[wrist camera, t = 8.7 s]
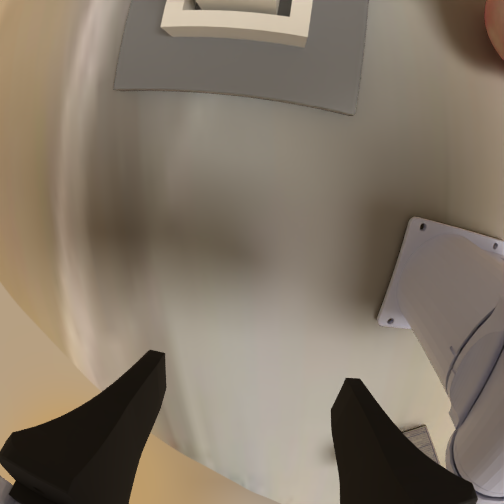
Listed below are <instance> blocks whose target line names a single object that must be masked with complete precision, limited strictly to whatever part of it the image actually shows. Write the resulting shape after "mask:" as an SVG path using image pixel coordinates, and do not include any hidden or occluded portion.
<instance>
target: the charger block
mask: <svg viewBox="0 0 504 504" xmlns="http://www.w3.org/2000/svg"><path fill="white" fill-rule="evenodd" d="M196 2H197V3H198V5H199V7H200V8H201V10H222V11H240V12H253V13H263V14H272V15H277V14H278V8H279V3H280V0H196Z"/></svg>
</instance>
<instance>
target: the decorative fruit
mask: <svg viewBox="0 0 504 504" xmlns="http://www.w3.org/2000/svg"><path fill="white" fill-rule="evenodd" d="M484 19H485V26H486V30H487V33H488V36H489V38H490V41H491V43H492V44H493V46H494V48H495V50H496V51H497V53H498V54H499V55H500V57H501V58H502V59H503V61H504V0H486V4H485V12H484Z"/></svg>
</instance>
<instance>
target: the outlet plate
mask: <svg viewBox="0 0 504 504" xmlns="http://www.w3.org/2000/svg"><path fill="white" fill-rule="evenodd" d="M368 3H369V0H280V3H279V8H278V14H277V15H272V14H263V13H253V12H240V11H222V10H201V8H200V7H199V5H198V3H197V2H196V0H132V1H131V5H130V9H129V13H128V17H127V21H126V25H125V29H124V34H123V38H122V43H121V48H120V53H119V58H118V64H117V70H116V76H115V82H114V90H119V91H180V92H199V93H212V94H223V95H233V96H242V97H251V98H258V99H266V100H272V101H279V102H285V103H291V104H297V105H302V106H307V107H312V108H317V109H322V110H327V111H332V112H336V113H340V114H345V115H349V116H353V115H355V113H356V106H357V100H358V93H359V86H360V79H361V71H362V63H363V55H364V46H365V37H366V27H367V15H368Z"/></svg>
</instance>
